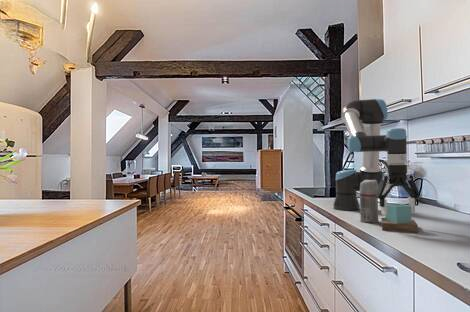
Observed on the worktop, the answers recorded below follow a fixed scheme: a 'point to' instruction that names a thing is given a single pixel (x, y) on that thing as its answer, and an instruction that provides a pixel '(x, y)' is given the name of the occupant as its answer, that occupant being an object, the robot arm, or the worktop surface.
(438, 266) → the worktop surface
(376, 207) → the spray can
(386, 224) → the brown square board
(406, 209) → the teal shadow box frame
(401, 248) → the worktop surface
